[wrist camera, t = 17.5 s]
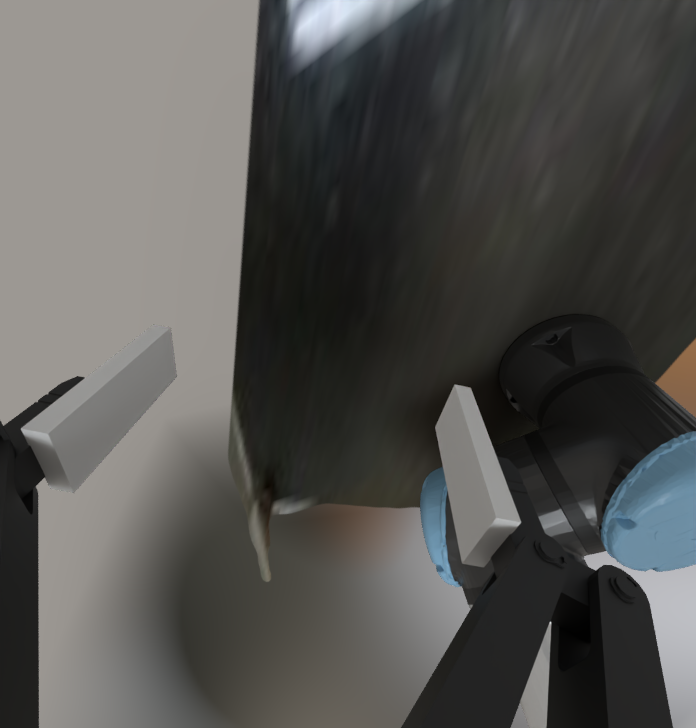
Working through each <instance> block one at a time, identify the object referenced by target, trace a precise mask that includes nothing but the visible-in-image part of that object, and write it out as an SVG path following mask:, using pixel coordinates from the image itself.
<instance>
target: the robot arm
mask: <svg viewBox="0 0 696 728" xmlns="http://www.w3.org/2000/svg"><path fill="white" fill-rule="evenodd" d="M176 377H177V374H176V367H175V358H174V350H173V341H172V333H171V328H170V327H165V326H160V325H152V326H151V327H150V328H148V329H147V330H146V331H144V332H143V333H142V334H141V335H139V336H138V337H137V338H136V339H134V340H133V341H132V342H131V343H129V344H128V345H127V346H125V347H124V348H123V349H122V350H120V351H119V352H118V353H116V354H115V355H114V356H113V357H111V358H110V359H109V360H108V361H106V362H105V363H104V364H103V365H101V366H100V367H99V368H97V369H96V370H95V371H93V372H92V373H91V374H90V375H88V376H87V377H86V378H84V377H78V376H77V377H75V378H72V379H70V380H68V381H66V382H63V383H61V384H60V385H58V386H57V387H56V388H54V389H53V390H51V391H50V392H49V394H48V395H45V396H43V397H42V398H41V399H39V400H38V402H35V403H34V404H33V405H31V406H30V407H28V408H27V409H26V410H25V411H23V412H22V413H20V414H19V415H18V416H16V417H15V418H14V419H12V420H11V421H10V422H8V423H7V424H6V425H4V426H3V425H2V423H1V421H0V728H39V687H38V686H39V671H38V670H39V669H38V667H39V666H38V665H39V660H38V656H39V655H38V492H37V489H36V487H35V486H36V485H37V484H38V483H39V482H40V481H41V480H42V479H43V478H44V477H45V478H46V481H47V483H48V485H49V487H50V489H55V490H61V491H66V492H72V493H74V492H75V491H76V490H77V489H78V488H79V487H80V486H81V484H82V483H83V482H84V481H85V480H86V479H87V478H88V476H89V475H90V474H91V473H92V472H93V471H94V470H95V469H96V467H97V466H98V465H99V464H100V463H101V462H102V461H103V460H104V458H105V457H106V456H107V455H108V454H109V453H110V452H111V450H112V449H113V448H114V447H115V446H116V445H117V444H118V443H119V441H120V440H121V439H122V438H123V437H124V436H125V435H126V433H127V432H128V431H129V430H130V429H131V428H132V427H133V426H134V424H135V423H136V422H137V421H138V420H139V419H140V418H141V416H142V415H143V414H144V413H145V412H146V411H147V410H148V409H149V407H150V406H151V405H152V404H153V403H154V402H155V401H156V400H157V398H158V397H159V396H160V395H161V394H162V393H163V392H164V391H165V389H166V388H167V387H168V386H169V385H170V384H171V383H172V381H173V380H174V379H175V378H176ZM499 381H500V385H501V388H502V390H503V392H504V394H505V396H506V398H507V399H508V401H509V402H510V404H511V405H512V406H513V407H514V408H515V409H516V410H517V411H519V412H520V413H521V414H522V415H524V416H525V417H526V418H527V419H529V420H530V421H531V422H533V423H534V424H535V425H536V426H538V427H539V428H540V429H539V430H537V431H534V432H531V433H529V434H526V435H523V436H520V437H518V438H515V439H513V440H510V441H508V442H505V443H502V444H500V445H497V446H494V447H493V446H492V443H491V440H490V438H489V435H488V433H487V430H486V427H485V425H484V422H483V419H482V417H481V414H480V411H479V409H478V406H477V403H476V401H475V398H474V395H473V393H472V390H471V388H470V387H465V386H460V385H454V387H453V389H452V391H451V393H450V396H449V398H448V400H447V402H446V404H445V407H444V409H443V411H442V413H441V415H440V418H439V420H438V422H437V424H436V426H435V429H436V434H437V439H438V444H439V449H440V454H441V459H442V464H443V467H441V468H438V469H436V470H434V471H432V472H431V473H430V474H429V475H428V476H427V477H426V479H425V481H424V484H423V487H422V492H421V498H420V511H421V521H422V528H423V533H424V538H425V542H426V545H427V549H428V552H429V555H430V557H431V560H432V562H433V563H434V564H436V569H437V572H438V574H439V575H440V577H441V578H442V579H443V580H444V581H445V582H446V583H448V584H450V585H454V586H456V587H460V586H462V588H463V591H464V593H465V596H466V599H467V602H468V605H469V607H470V609H471V610H470V611H469V613H468V615H467V617H466V618H465V620H464V622H463V623H462V625H461V627H460V628H459V630H458V632H457V633H456V635H455V637H454V639H453V640H452V642H451V644H450V645H449V647H448V649H447V650H446V652H445V654H444V656H443V657H442V659H441V661H440V662H439V664H438V666H437V667H436V669H435V671H434V673H433V674H432V676H431V678H430V679H429V681H428V683H427V684H426V687H425V688H424V690H423V691H422V693H421V695H420V696H419V698H418V700H417V701H416V703H415V705H414V707H413V708H412V710H411V712H410V713H409V715H408V717H407V719H406V720H405V722H404V724H403V725H402V727H401V728H510V727H511V725H512V722H513V719H514V716H515V714H516V711H517V709H518V706H519V703H520V704H521V706H522V709H523V712H524V715H525V717H526V720H527V723H528V726H529V728H673V726H672V720H671V715H670V710H669V705H668V700H667V694H666V688H665V683H664V678H663V672H662V668H661V662H660V657H659V651H658V646H657V641H656V635H655V630H654V625H653V619H652V614H651V609H650V604H649V601H648V599H647V596H646V594H645V592H644V591H643V590H642V588H641V587H640V585H639V584H638V583H637V582H636V581H635V580H634V579H633V578H632V577H631V576H630V575H628V574H627V573H626V572H624V571H622V570H621V569H619V568H617V567H614V566H612V565H603V566H602V567H600V568H599V569H598V570H596V571H595V570H593V569H591V568H589V567H588V566H587V564H586V562H585V560H584V556H586V555H590V554H595V553H599V552H604V551H607V552H608V554H609V555H610V556H611V557H613V558H615V559H616V560H617V561H618V562H619V563H621V564H622V565H624V566H626V567H628V568H631V569H634V570H639V571H647V570H649V569H653V570H655V571H657V572H658V571H659V572H660V571H661V572H662V571H670V570H675V569H679V568H685V567H688V566H691V565H695V564H696V418H695V417H694V416H693V415H692V414H690V413H689V412H688V411H687V410H686V409H685V408H683V407H682V406H681V405H680V404H679V403H677V402H676V401H675V400H674V399H673V398H671V397H670V396H669V395H668V394H667V393H666V392H664V391H663V390H662V389H661V388H660V387H659V386H657V385H656V384H655V383H654V382H652V381H651V380H650V379H649V378H648V377H647V376H646V375H645V374H644V373H643V370H642V368H641V366H640V363H639V361H638V359H637V357H636V355H635V353H634V350H633V347H632V344H631V343H630V341H629V340H628V338H627V337H626V336H625V335H624V334H623V333H622V332H621V331H619V330H618V329H617V328H616V327H614V326H613V325H612V324H610V323H609V322H607V321H605V320H603V319H601V318H598V317H594V316H589V315H567V316H562V317H557V318H554V319H551V320H548V321H545V322H543V323H541V324H538V325H537V326H535V327H533V328H531V329H530V330H528V331H527V332H525V333H524V334H523V335H521V336H520V337H519V338H518V339H517V340H516V341H515V342H514V343H513V344H512V345H511V347H510V348H509V349H508V351H507V352H506V354H505V356H504V358H503V360H502V362H501V366H500V370H499Z"/></svg>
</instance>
